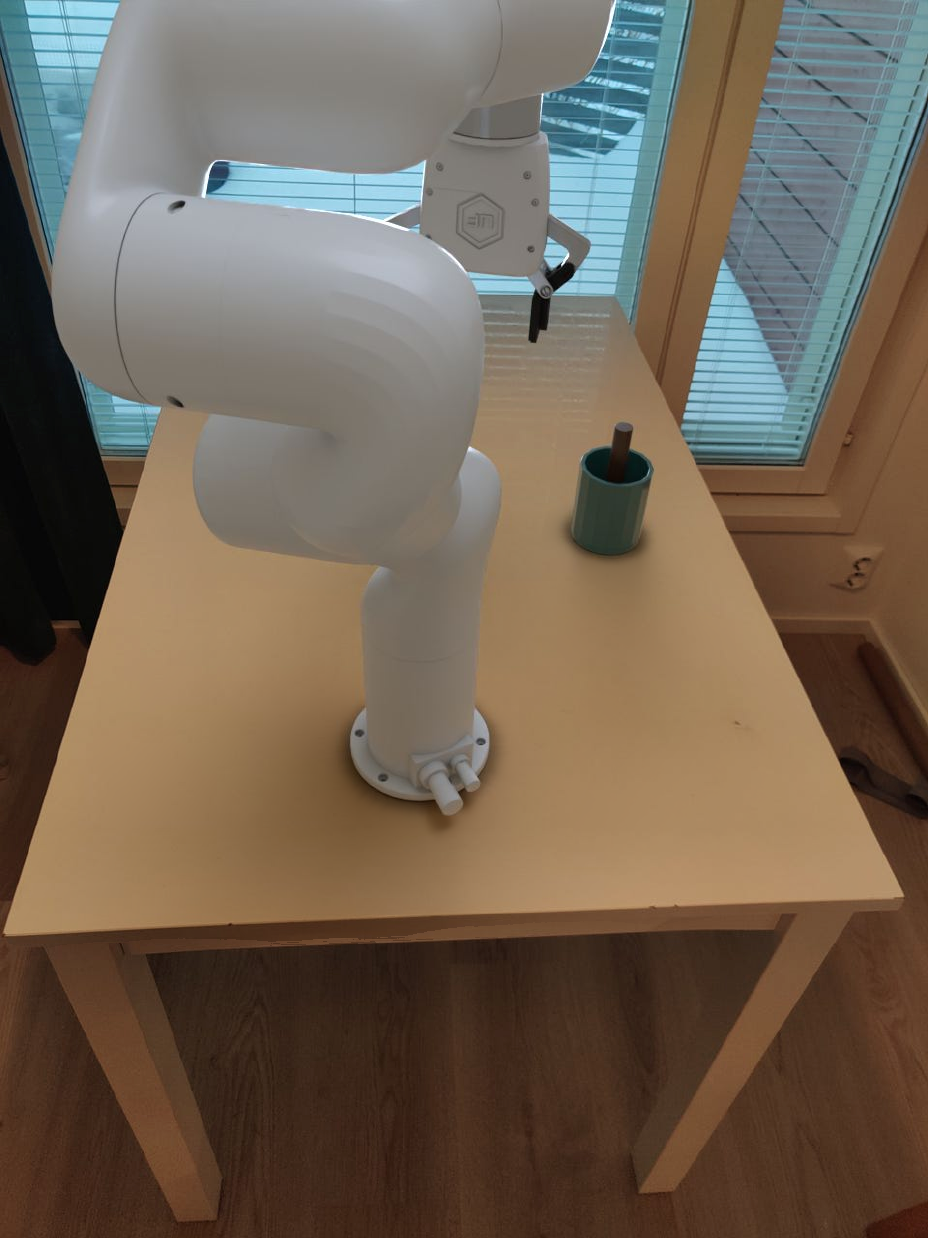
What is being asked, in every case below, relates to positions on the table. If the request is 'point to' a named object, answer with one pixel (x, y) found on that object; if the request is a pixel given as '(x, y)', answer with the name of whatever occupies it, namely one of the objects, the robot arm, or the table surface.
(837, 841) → the table surface
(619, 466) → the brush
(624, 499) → the cup
